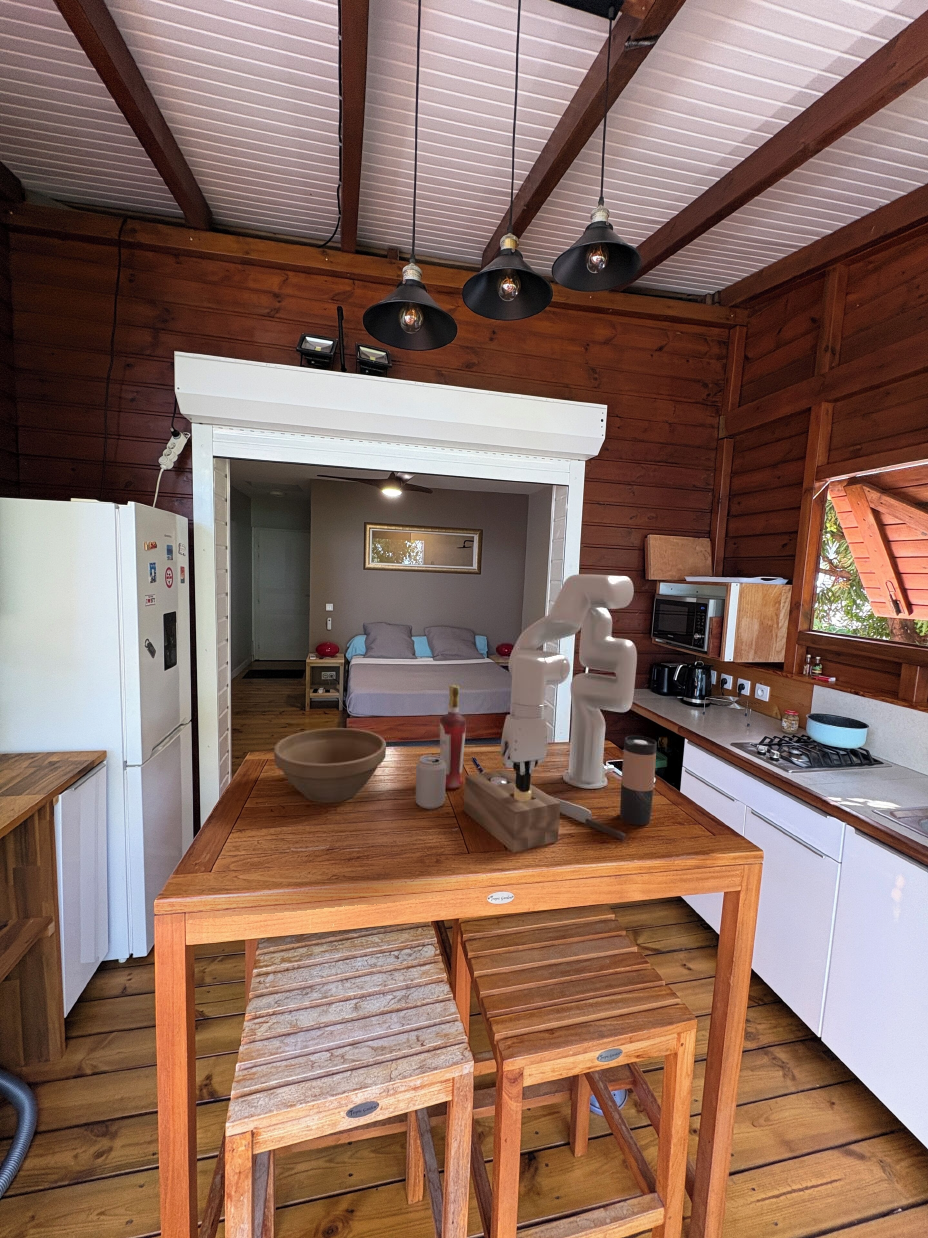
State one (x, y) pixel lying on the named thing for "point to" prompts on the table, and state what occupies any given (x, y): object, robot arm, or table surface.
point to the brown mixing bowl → (330, 761)
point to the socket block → (511, 811)
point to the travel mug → (637, 779)
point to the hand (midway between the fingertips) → (522, 789)
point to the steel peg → (498, 781)
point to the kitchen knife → (587, 818)
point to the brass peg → (522, 795)
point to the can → (430, 781)
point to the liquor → (453, 741)
